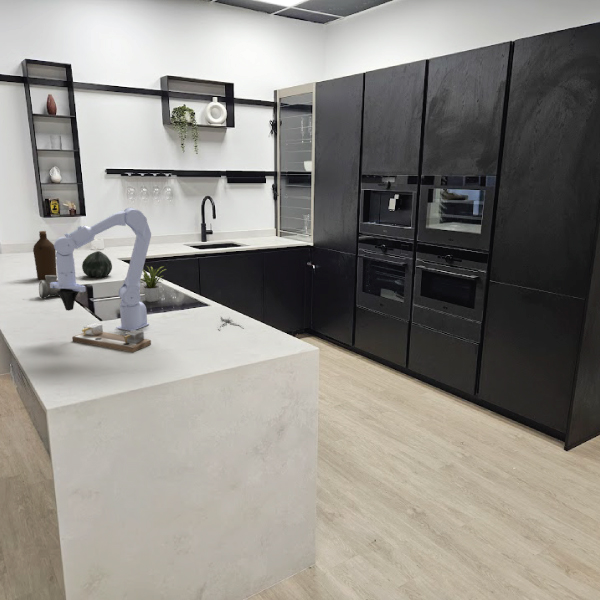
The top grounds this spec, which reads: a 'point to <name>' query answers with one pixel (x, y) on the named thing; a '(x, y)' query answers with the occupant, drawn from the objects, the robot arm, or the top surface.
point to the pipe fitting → (47, 286)
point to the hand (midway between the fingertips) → (69, 309)
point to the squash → (97, 265)
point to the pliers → (229, 322)
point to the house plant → (151, 284)
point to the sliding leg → (92, 329)
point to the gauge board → (116, 340)
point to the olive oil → (44, 257)
